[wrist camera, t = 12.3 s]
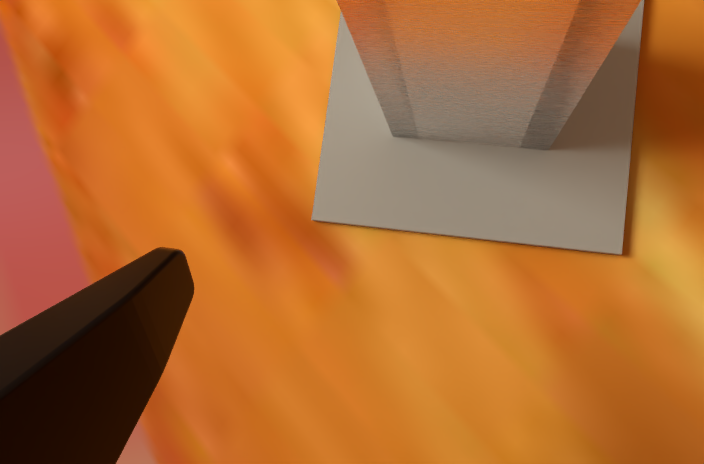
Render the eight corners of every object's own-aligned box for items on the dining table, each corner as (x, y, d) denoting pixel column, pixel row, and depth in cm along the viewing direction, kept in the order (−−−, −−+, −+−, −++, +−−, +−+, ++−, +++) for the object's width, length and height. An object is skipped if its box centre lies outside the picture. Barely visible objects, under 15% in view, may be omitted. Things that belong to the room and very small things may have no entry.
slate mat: (618, 255, 19) (621, 254, 18) (314, 221, 21) (311, 219, 21) (644, -44, 20) (648, -51, 19) (351, -46, 22) (349, -52, 22)
